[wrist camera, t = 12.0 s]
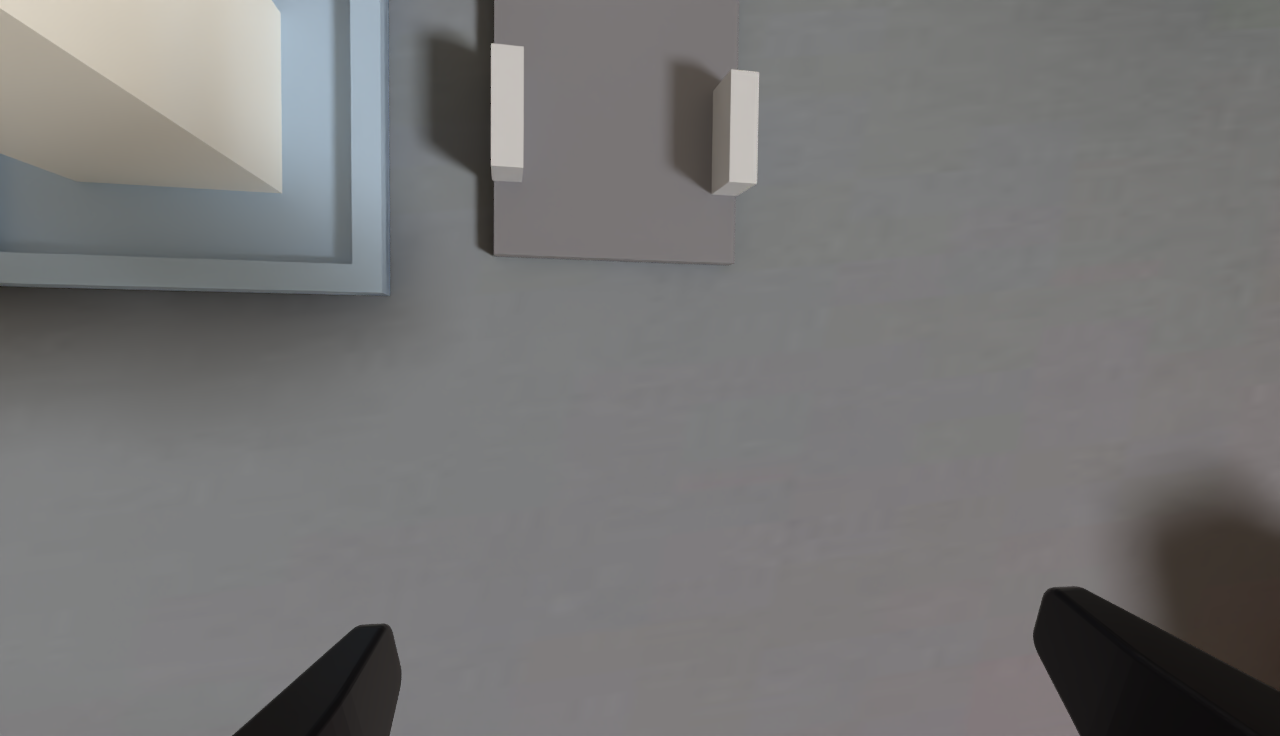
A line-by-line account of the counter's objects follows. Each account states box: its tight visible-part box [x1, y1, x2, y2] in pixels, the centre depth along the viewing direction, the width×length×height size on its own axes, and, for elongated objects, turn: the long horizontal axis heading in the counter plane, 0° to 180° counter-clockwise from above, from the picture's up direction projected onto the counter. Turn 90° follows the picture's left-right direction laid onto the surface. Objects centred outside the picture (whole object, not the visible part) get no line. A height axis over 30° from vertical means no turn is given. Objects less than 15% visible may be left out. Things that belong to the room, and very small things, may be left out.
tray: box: [0, 0, 390, 296], centre depth 15 cm, size 9×9×1 cm
